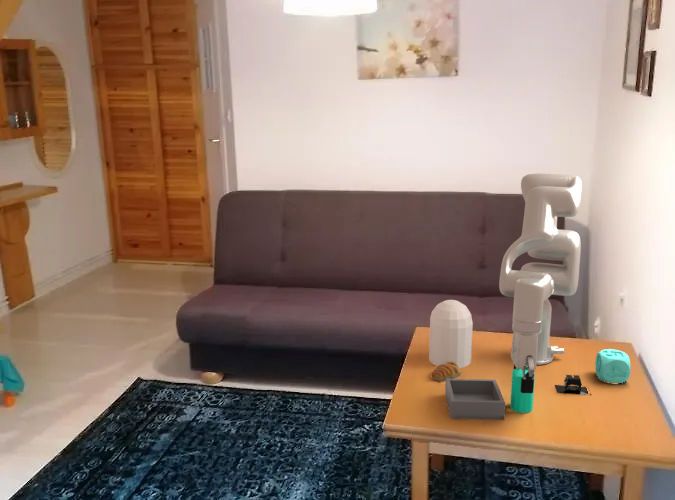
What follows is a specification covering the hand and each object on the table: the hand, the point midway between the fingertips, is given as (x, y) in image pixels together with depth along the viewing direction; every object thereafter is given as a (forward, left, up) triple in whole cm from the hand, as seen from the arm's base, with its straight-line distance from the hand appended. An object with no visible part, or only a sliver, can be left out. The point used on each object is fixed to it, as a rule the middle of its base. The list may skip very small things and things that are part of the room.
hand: (522, 384), depth 180 cm
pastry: (+18, -20, -8) cm, 28 cm away
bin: (+13, -1, -7) cm, 15 cm away
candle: (0, -1, -7) cm, 7 cm away
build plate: (-17, -12, -8) cm, 23 cm away
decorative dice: (-31, -21, -7) cm, 38 cm away
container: (+16, -33, -7) cm, 37 cm away
